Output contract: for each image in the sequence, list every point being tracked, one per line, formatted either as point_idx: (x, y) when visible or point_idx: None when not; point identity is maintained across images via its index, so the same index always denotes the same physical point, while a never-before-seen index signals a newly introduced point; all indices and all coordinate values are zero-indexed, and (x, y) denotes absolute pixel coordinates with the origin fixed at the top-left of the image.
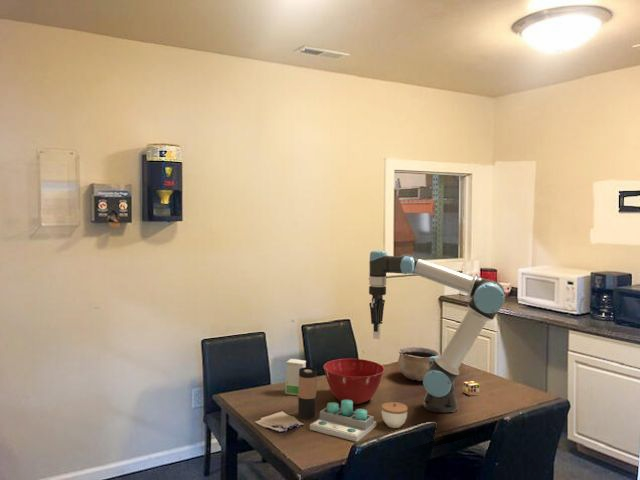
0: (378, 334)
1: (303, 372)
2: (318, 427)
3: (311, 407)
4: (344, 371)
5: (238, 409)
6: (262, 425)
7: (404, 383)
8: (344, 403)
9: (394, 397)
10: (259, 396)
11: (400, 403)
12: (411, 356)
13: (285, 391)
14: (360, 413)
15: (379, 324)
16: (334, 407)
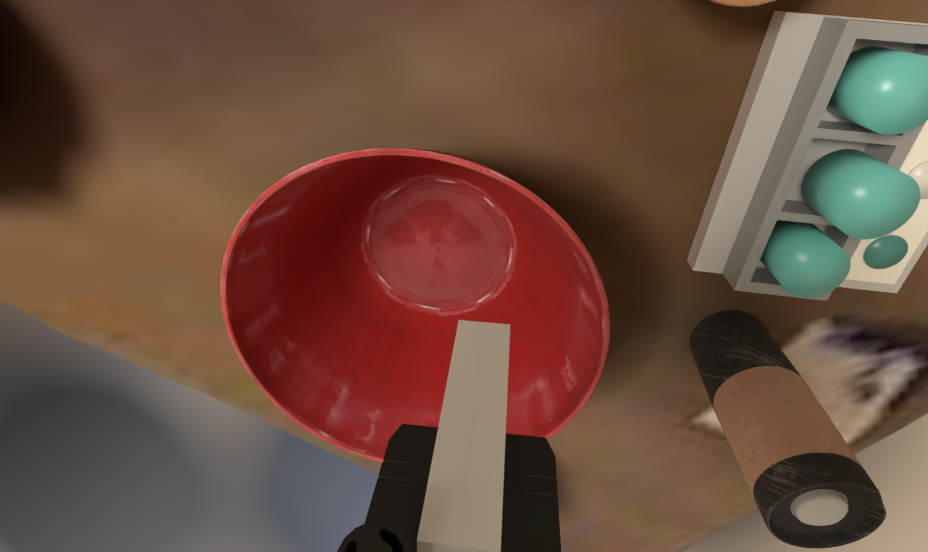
0: (506, 379)
1: (880, 521)
2: (919, 252)
3: (776, 345)
4: (333, 368)
5: (731, 517)
6: (867, 425)
7: (53, 89)
8: (915, 209)
9: (293, 67)
10: (586, 508)
11: None
12: None
13: None
14: None
15: (474, 544)
16: (845, 252)
